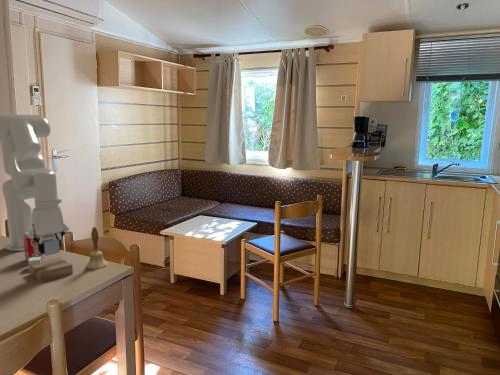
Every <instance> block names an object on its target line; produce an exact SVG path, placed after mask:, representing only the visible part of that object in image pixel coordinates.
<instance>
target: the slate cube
mask: <svg viewBox="0 0 500 375" xmlns="http://www.w3.org/2000/svg"><path fill="white" fill-rule="evenodd" d="M43 244H44V252H45V253H44V257H45V256H52V255H57V254H60V252H61V247H59V240H58V239H56V237H55V236H51V237H49V238H43Z"/></svg>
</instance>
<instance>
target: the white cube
mask: <svg viewBox="0 0 500 375" xmlns="http://www.w3.org/2000/svg"><path fill="white" fill-rule="evenodd" d="M27 262H28V271H30V272H31V270H30V265H33V264H37V263H41V262H42V259H41V256H40V257H32V258H29V261H27Z"/></svg>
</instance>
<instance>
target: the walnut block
mask: <svg viewBox="0 0 500 375" xmlns="http://www.w3.org/2000/svg"><path fill="white" fill-rule="evenodd" d="M30 270H31V271H30V275H31V276H33V277H34V278H35V279H37V280H38V281H39V282H40V283H46V282H50V281H52V280H55V279H56V280H57V279H60V278H63V277H66V275H67V276H70V275H73V274H74V270H73V264H72V263H70V262H68V261H66V260H64V259H63V258H61V257H58V258H54V259H50V260H45V261H41V263H37V264H33V265H30ZM69 274H70V275H69Z"/></svg>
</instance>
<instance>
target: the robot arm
mask: <svg viewBox="0 0 500 375" xmlns="http://www.w3.org/2000/svg"><path fill="white" fill-rule="evenodd" d="M50 134H51V125H50V122H49V120H48V119H47V118H46V117H45V116H41V115H37V114H13V113H8V114H6V113H5V114H0V144H1V150H2V151H1V152H2V162H3V168H4V171H5V173H6V174H7V175H8V176H10V179H8V180H5V181H4V182H3V183H2V185H1V186H2V187H1V188H2V189H1V190H2V193H3V197H4V202H5V206H6V207H5V208H6V217H7V218H6V219H7V226H8V228H7V229H8V237H9V243H8V244H7V245H6V246H5V249H6V251H9V252H22V251H24V239H23V238H24V235H25V232H27V231H30V232H29V233H28V235H27V237H28V238H30V239H32V240H34V241H36V242H37V243H38V251H39V252H40V253H42V254H44V253H45V252H44V244H43V239H44V236H49V235H54V237H55V238H56V239H58V240H59V247H60V248H62V239H63V237H64V236H65V235H66V233H68V231H70V228H69V227H68V226H67V225H66V224H65V223H64V218H63V217H64V216H63V213H62V210H61V206H59V204H61V203H63V202H62V201H63V200H62V199H59V198H58V188H57V187H58V184H57V175H56V172H55V171H53V170H52V169H51V168H48V167H46V163H45V158H44V157H43V156H42V155H41V154H39V153H40V152H41V149H42V147H41V146H42V145H41V143H40V141H39V138H46V137H49V135H50ZM29 199H30V200H31V199H34V208H32V207H31V206H30V205H29V203H27V202H26V201H25V200H29ZM33 234H36V235H37V238H36V237H34V236H33Z"/></svg>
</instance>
